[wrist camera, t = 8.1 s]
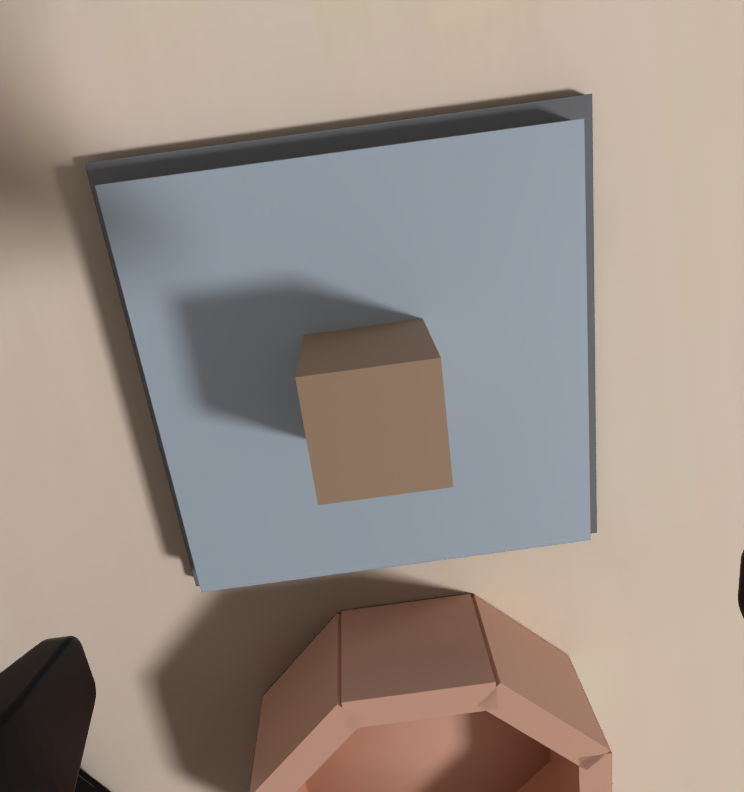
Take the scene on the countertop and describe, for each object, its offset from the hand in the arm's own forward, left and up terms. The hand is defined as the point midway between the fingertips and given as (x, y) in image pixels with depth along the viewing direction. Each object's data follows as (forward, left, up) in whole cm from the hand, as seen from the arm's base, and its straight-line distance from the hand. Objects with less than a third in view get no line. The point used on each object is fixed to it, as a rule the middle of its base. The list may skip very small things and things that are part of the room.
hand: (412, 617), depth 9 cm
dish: (-7, -12, -11) cm, 18 cm away
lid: (0, 0, -11) cm, 11 cm away
